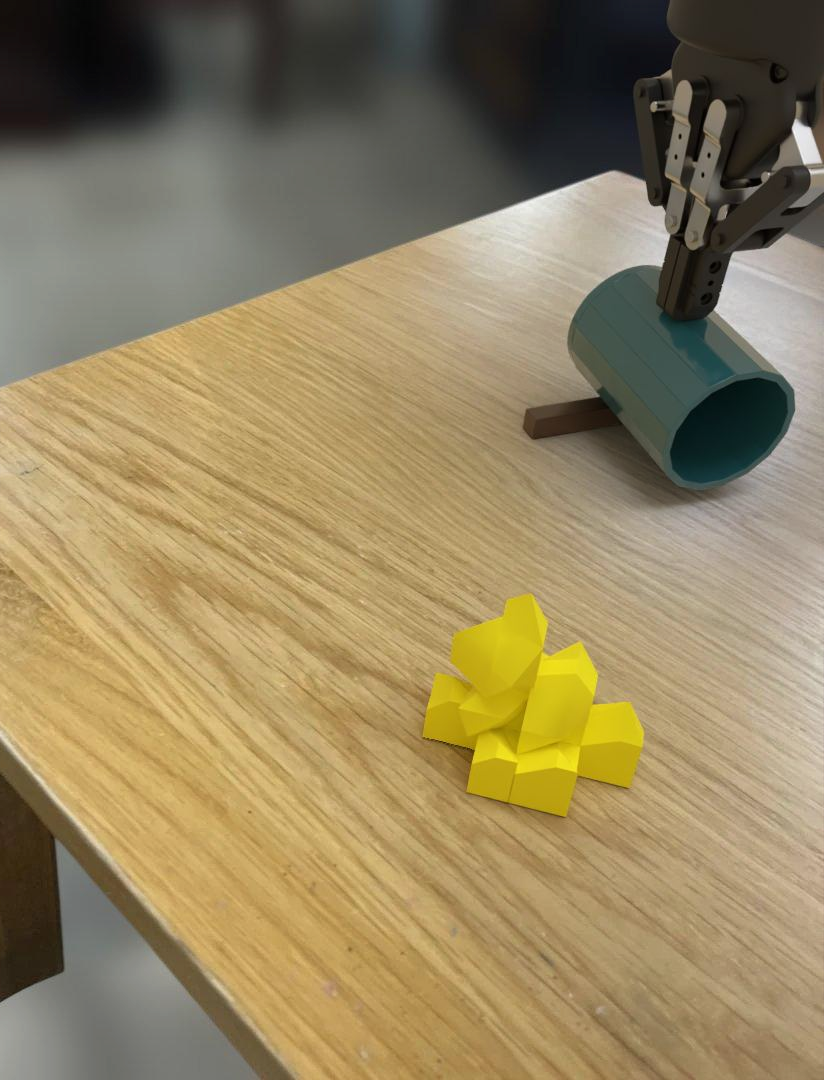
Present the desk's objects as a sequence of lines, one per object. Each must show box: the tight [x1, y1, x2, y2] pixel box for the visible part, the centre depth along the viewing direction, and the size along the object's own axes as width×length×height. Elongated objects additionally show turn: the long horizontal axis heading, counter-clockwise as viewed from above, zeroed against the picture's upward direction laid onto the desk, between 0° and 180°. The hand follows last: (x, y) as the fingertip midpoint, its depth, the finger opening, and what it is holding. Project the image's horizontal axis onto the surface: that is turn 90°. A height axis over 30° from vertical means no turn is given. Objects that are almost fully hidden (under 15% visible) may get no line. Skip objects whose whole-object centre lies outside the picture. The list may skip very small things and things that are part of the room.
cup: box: [566, 264, 796, 491], centre depth 61 cm, size 7×7×10 cm
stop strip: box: [522, 396, 623, 440], centre depth 66 cm, size 12×1×1 cm, turn 108°
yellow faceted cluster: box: [422, 592, 645, 818], centre depth 45 cm, size 6×8×8 cm
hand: (681, 312), depth 59 cm, fingers closed
